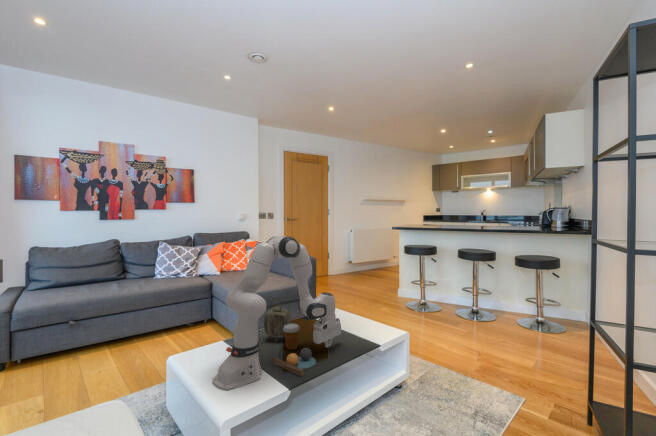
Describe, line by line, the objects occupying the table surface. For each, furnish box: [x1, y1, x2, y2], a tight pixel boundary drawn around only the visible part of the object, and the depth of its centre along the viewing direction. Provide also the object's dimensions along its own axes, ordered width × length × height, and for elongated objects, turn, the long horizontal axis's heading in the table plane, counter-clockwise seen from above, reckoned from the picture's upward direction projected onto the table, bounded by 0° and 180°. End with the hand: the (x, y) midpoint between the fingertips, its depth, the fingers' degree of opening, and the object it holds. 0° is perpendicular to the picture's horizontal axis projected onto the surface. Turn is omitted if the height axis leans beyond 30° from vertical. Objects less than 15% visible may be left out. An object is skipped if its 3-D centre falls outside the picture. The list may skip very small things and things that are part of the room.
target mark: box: [295, 355, 317, 370], centre depth 159 cm, size 14×14×1 cm
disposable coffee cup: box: [283, 323, 301, 350], centre depth 178 cm, size 10×10×12 cm
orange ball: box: [285, 352, 299, 366], centre depth 156 cm, size 6×6×6 cm
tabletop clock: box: [263, 298, 292, 343], centre depth 188 cm, size 14×9×25 cm, turn 84°
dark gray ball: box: [299, 347, 313, 360], centre depth 162 cm, size 6×6×6 cm
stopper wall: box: [272, 357, 305, 377], centre depth 152 cm, size 2×20×2 cm, turn 48°
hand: (328, 346), depth 174 cm, fingers closed
